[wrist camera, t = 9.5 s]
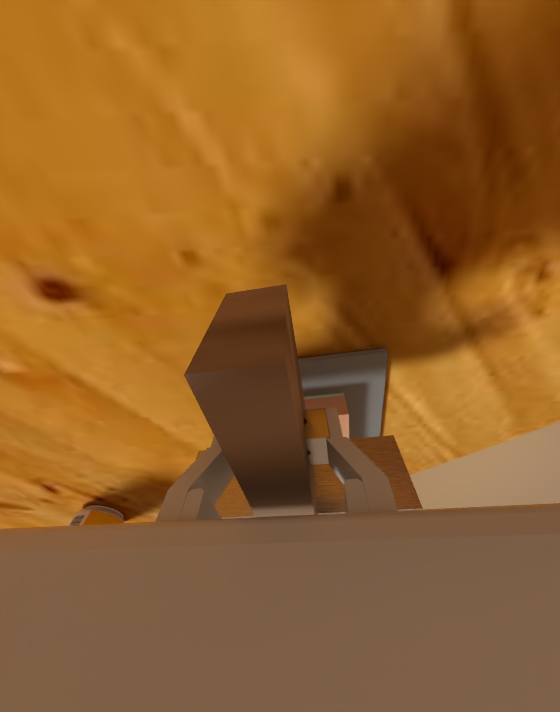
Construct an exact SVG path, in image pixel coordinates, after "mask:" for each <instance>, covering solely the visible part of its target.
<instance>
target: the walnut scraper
mask: <svg viewBox="0 0 560 712" xmlns="http://www.w3.org/2000/svg"><path fill="white" fill-rule="evenodd" d="M184 376H185V378H186V380H187V382H188V384H189V386H190V388H191V390H192V392H193V394H194V396H195V398H196V400H197V402H198V404H199V406H200V408H201V410H202V412H203V414H204V416H205V418H206V420H207V422H208V424H209V426H210V428H211V429H212V431H213V433H214V435H215V437H216V439H217V441H218V443H219V445H220V447H221V449H222V451H223V453H224V455H225V457H226V459H227V461H228V463H229V465H230V467H231V469H232V471H233V473H234V475H235V476H234V477H233V479H232V480H231V482H230V483H229V484H228V486H227V487H226V489H225V490H224V492H223V493H222V495H221V496H220V498H219V499H218V501H217V502H216V504H215V505H214V507H215V509H216V510H217V511H218V513H219V514H220V516H221V517H222V519H229V518H250V517H272V516H294V515H316V514H338V513H345V494H344V484H343V483H342V481H341V480H340V479H339V478H338V476H337V475H336V474H335V472H334V471H333V470H332V468H331V467H330V466H329V464H314V465H310V463H309V457H308V450H307V446H306V440H305V427H304V426H305V421H304V410H306V406H305V400H304V393H303V387H302V381H301V374H300V368H299V362H298V355H297V349H296V343H295V336H294V330H293V324H292V318H291V311H290V305H289V299H288V292H287V286H286V285H280V286H273V287H267V288H260V289H254V290H247V291H241V292H235V293H228V294H226V295H225V297H224V299H223V301H222V303H221V305H220V307H219V309H218V311H217V313H216V315H215V317H214V318H213V320H212V322H211V324H210V326H209V328H208V330H207V332H206V334H205V336H204V338H203V340H202V342H201V344H200V345H199V347H198V349H197V351H196V353H195V355H194V357H193V359H192V361H191V363H190V365H189V367H188V369H187V371H186V372H185V374H184ZM349 440H350V441H351V442H352V443H353V444H354V445H355V446H356V447H357V448H359V449H360V450H361V451H362V452H363V453H364V454H365V455H366V456H367V457H368V458H369V459H370V460H371V461H372V462H373V463H374V464H375V465H376V466H377V467H378V468H379V469H380V470H381V471H382V472H383V473H384V474H385V475H386V476H387V477H388V480H389V483H390V487H391V490H392V493H393V496H394V499H395V502H396V505H397V508H398V511H404V510H423V508H422V505H421V503H420V500H419V498H418V496H417V493H416V490H415V488H414V486H413V483H412V481H411V478H410V475H409V473H408V470H407V468H406V465H405V463H404V461H403V458H402V456H401V453H400V451H399V448H398V446H397V443H396V441H395V438H394V436H393V435H391V436H378V437H366V438H353V439H349ZM204 451H205V450H204ZM204 451H199V452H198V455H197V458H196V460H197V459H198V458H199V457H200V455H201V454H202V453H203V452H204Z"/></svg>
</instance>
